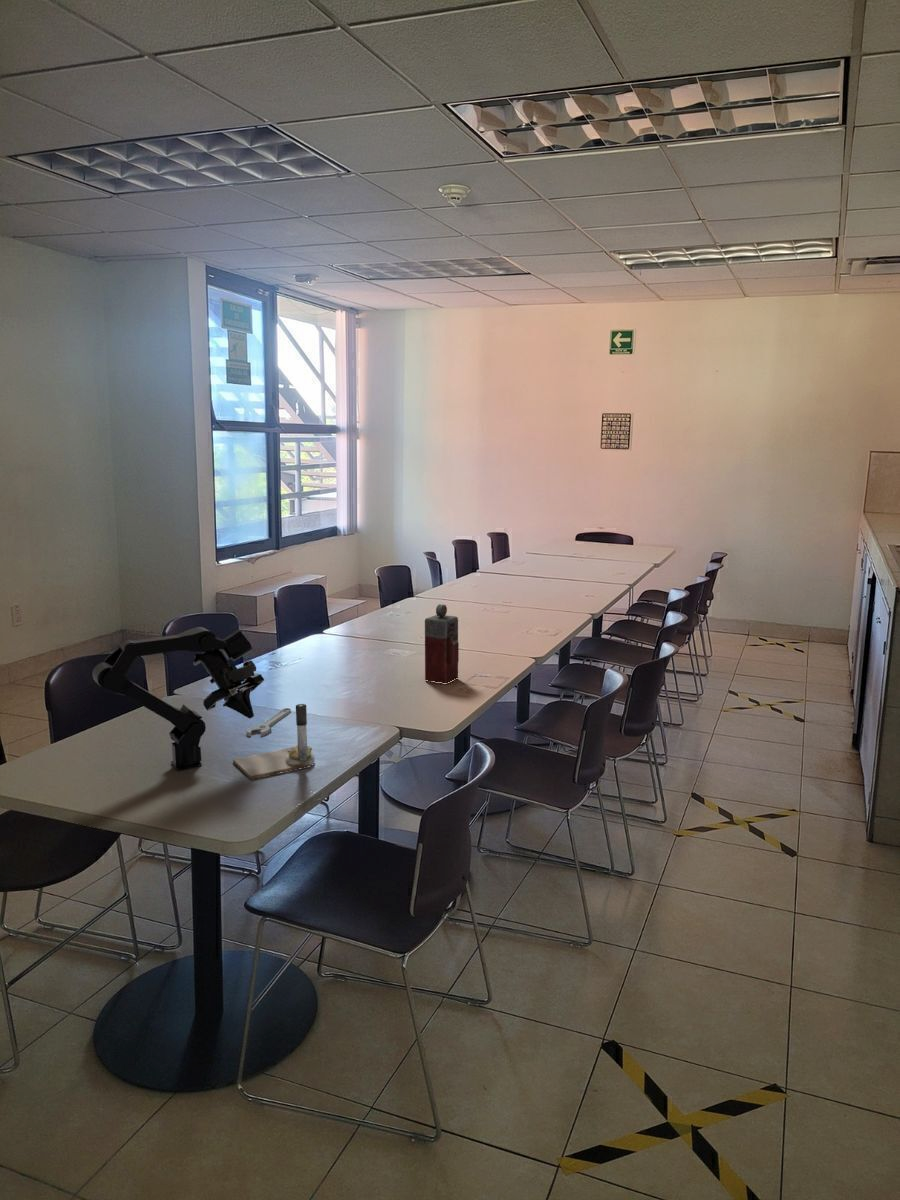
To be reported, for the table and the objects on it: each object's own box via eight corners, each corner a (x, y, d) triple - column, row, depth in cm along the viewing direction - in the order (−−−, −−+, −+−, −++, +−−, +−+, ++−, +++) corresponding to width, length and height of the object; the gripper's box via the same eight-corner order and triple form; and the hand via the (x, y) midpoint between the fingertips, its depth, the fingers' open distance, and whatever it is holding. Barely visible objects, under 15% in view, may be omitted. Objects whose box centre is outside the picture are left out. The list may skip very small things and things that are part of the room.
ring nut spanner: (286, 752, 230) (284, 696, 227) (310, 750, 231) (308, 694, 229) (291, 766, 220) (289, 708, 217) (315, 763, 222) (314, 705, 219)
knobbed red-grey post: (451, 685, 301) (451, 608, 296) (424, 681, 307) (424, 605, 302) (463, 679, 309) (464, 604, 304) (437, 675, 314) (437, 601, 309)
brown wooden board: (251, 779, 217) (250, 772, 217) (233, 762, 228) (232, 755, 228) (319, 765, 227) (319, 757, 227) (298, 749, 238) (298, 742, 238)
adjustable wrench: (284, 712, 274) (284, 707, 273) (302, 714, 272) (302, 709, 271) (243, 736, 250) (243, 730, 250) (262, 739, 248) (262, 733, 248)
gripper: (211, 662, 215) (245, 712, 213) (259, 644, 231) (291, 691, 229) (188, 685, 220) (221, 734, 218) (236, 666, 236) (267, 712, 234)
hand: (251, 717), depth 225 cm, fingers closed
